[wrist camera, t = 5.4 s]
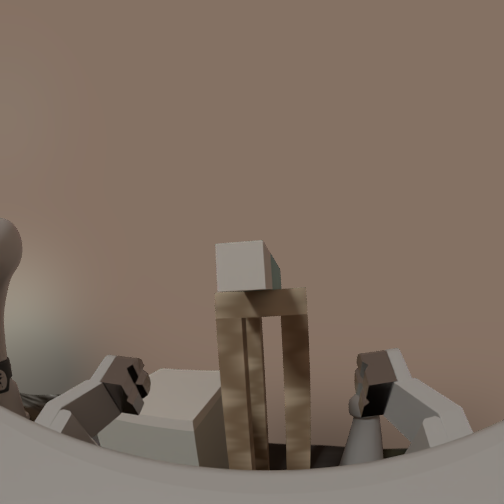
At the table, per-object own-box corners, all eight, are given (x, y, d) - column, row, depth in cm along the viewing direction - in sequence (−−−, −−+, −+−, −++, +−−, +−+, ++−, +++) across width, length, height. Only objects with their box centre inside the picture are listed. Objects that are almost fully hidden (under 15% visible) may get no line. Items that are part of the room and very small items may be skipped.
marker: (217, 291, 15) (215, 243, 15) (260, 291, 34) (259, 270, 35) (265, 288, 14) (262, 240, 15) (281, 289, 34) (280, 269, 34)
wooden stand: (238, 534, 19) (214, 292, 23) (255, 471, 33) (243, 292, 37) (307, 534, 18) (305, 287, 22) (305, 469, 32) (300, 288, 36)
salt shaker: (332, 490, 26) (337, 404, 28) (342, 467, 31) (346, 387, 33) (379, 492, 24) (390, 403, 25) (383, 468, 29) (391, 385, 30)
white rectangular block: (127, 523, 19) (91, 404, 21) (175, 463, 35) (161, 368, 37) (215, 543, 18) (192, 420, 20) (241, 470, 33) (232, 370, 36)
